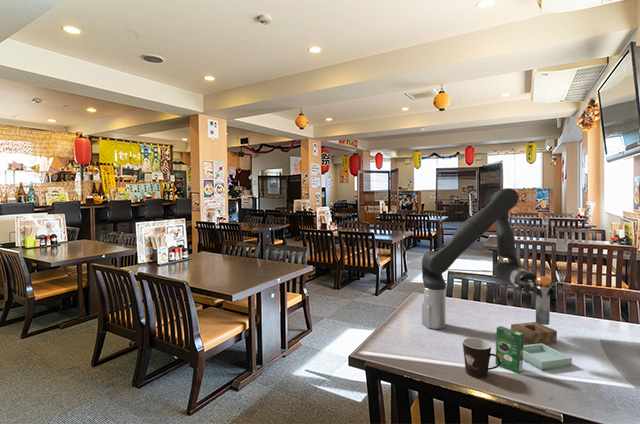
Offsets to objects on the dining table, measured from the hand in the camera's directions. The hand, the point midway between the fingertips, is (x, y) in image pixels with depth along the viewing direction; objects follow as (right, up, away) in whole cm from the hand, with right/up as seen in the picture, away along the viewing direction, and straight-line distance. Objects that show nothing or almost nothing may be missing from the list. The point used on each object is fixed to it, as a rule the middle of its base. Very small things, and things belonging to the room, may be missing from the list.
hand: (547, 292), depth 115 cm
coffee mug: (-26, -26, -6) cm, 37 cm away
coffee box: (-14, -25, -1) cm, 29 cm away
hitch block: (+8, -24, +21) cm, 33 cm away
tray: (+1, -25, +4) cm, 25 cm away
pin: (0, -11, +3) cm, 12 cm away
